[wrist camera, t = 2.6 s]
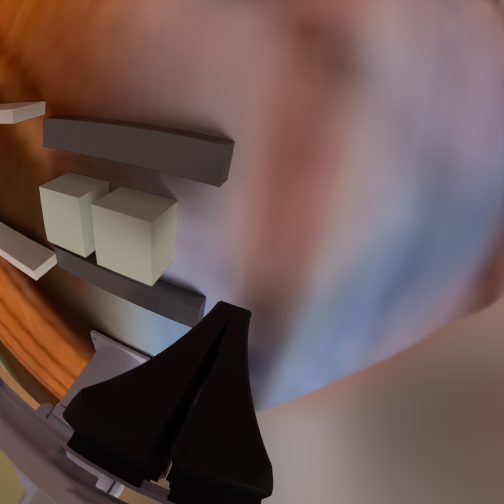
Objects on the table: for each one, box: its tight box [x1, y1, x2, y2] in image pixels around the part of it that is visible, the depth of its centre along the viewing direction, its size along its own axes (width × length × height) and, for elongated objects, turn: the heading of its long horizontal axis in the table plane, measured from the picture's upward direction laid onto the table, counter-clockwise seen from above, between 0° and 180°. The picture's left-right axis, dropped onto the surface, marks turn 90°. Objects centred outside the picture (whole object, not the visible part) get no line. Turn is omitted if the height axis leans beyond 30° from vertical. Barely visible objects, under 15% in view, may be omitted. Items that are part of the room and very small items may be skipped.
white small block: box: [91, 186, 178, 286], centre depth 15 cm, size 4×4×3 cm
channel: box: [43, 115, 235, 328], centre depth 16 cm, size 12×13×1 cm
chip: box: [39, 173, 109, 258], centre depth 16 cm, size 4×4×3 cm
